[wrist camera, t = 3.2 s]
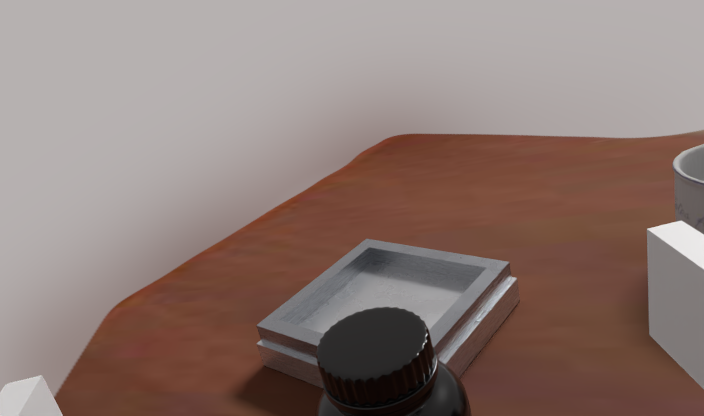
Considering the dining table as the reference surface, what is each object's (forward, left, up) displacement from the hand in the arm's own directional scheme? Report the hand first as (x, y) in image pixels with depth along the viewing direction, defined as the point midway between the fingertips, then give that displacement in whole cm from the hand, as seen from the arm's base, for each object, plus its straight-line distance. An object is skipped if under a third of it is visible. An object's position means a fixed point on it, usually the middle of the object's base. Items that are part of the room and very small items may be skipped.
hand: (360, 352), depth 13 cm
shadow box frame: (-20, -18, -19) cm, 33 cm away
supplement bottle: (-7, -7, -19) cm, 21 cm away
